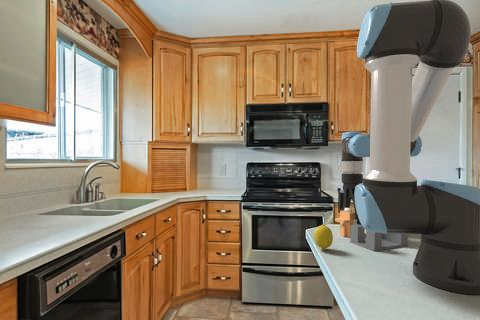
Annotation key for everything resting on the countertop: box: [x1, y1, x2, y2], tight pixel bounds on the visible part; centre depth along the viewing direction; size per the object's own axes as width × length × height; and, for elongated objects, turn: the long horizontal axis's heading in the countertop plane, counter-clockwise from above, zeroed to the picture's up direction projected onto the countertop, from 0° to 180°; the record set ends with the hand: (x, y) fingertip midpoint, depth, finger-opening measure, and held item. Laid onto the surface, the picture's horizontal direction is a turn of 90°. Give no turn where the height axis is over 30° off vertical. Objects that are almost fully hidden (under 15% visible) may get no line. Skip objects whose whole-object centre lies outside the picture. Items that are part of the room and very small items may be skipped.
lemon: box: [313, 224, 334, 251], centre depth 87 cm, size 6×6×8 cm
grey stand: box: [349, 224, 409, 252], centre depth 93 cm, size 10×15×6 cm, turn 112°
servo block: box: [334, 207, 356, 239], centre depth 104 cm, size 5×12×10 cm, turn 112°
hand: (351, 234), depth 104 cm, fingers closed on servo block, 5 cm apart
